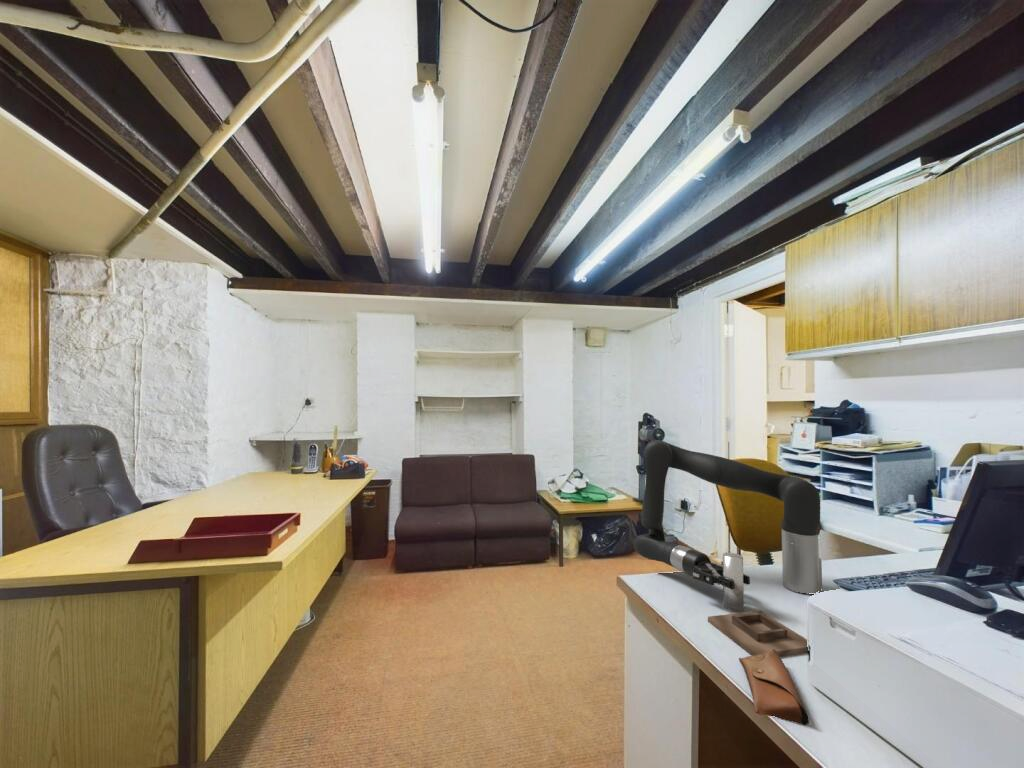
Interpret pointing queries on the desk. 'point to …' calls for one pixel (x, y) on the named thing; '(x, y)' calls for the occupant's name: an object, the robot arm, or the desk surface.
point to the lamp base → (759, 633)
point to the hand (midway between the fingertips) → (741, 583)
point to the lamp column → (734, 571)
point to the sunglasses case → (773, 688)
